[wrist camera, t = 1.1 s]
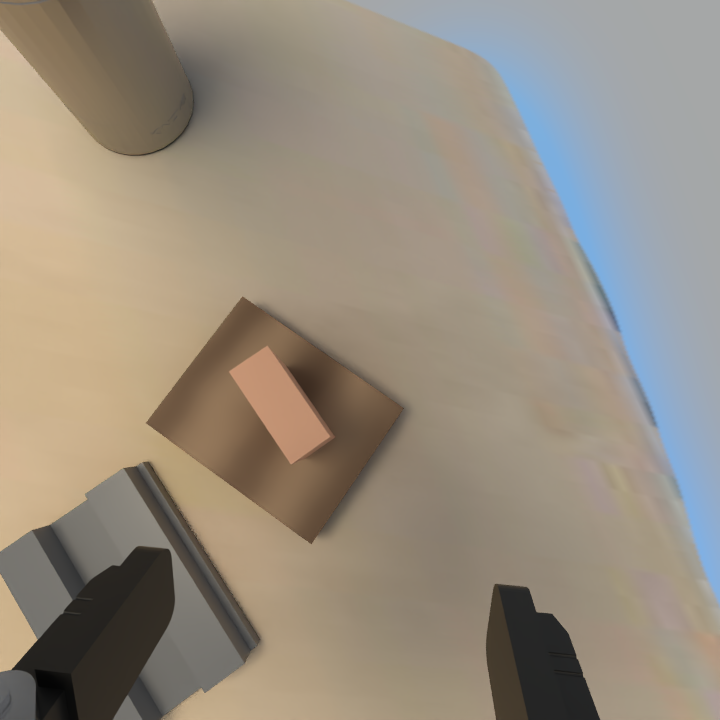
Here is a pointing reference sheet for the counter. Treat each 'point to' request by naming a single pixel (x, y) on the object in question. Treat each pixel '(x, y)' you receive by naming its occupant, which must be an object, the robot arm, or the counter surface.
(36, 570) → the rack
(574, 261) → the counter surface
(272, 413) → the tile
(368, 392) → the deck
